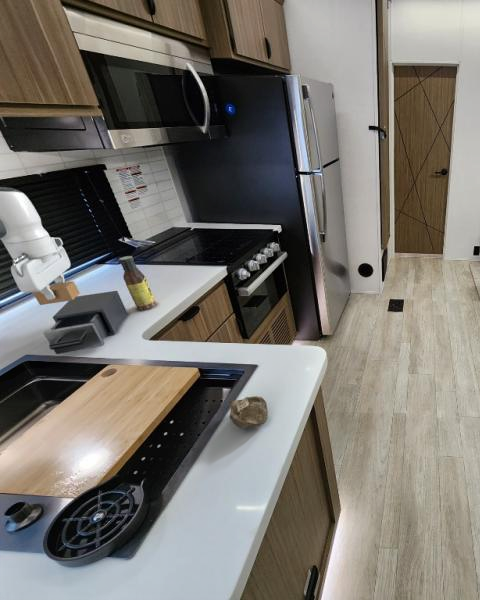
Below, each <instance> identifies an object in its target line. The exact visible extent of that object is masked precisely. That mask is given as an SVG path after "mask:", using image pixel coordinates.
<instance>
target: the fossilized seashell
mask: <svg viewBox="0 0 480 600" xmlns="http://www.w3.org/2000/svg"><path fill="white" fill-rule="evenodd" d="M229 406H230V410H229V411H230V412H229V419H230V420H231V422H232V423H233V424H234V425H235V426H236V427H239V428H240V429H241V428H243V429H251V428H255V427H260V426H262V425H264V424H265V423H266V422H267V420H268V414H269V410H268V407H267V406H268V403H267V401H266V400H265V398H263V397H262V396H258V395H257V396H255V395H253V396H245V397H244V398H242V399H237V400H230V401H229Z"/></svg>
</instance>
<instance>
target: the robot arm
mask: <svg viewBox="0 0 480 600" xmlns="http://www.w3.org/2000/svg"><path fill="white" fill-rule="evenodd" d="M0 241H1V242H2V244H3V245H4V247H5V249H6V250H7V252H8V253H9V255H10V257H11V259H12V265H11V267H10V272H11V275H12V277H13V279H14V281H15V284H16V286H17V288H18V289H19V291H20V292H22V293H24V294H33V292H41V293H42V294H44V295H45V297H46V299H48V300H51V299H54V298H56V297H57V295H56V293H55V291H53V292H52V291H51V290H50V289H49V288H50V286H49V285H50V284H52V282H53V281H54V284H58V283H65V281H66V280H65V276H64V273H65V272H66V271H67V270H69V269H70V268H71V260H70V257H69V255H68V253H67V251H66V249H65V248H64V247H63V245H64V243H63V240H62V239H61V237H51V236H50V234H49V232H48V231H47V230H46V229H45V228H44V227H43V224H42V219H41V217H40V215H39V212H38V211H37V209H36V208H35V206H34V204H33V203H32V201H31V200H30V199H29V197H28V196H27V195H26V194H25V193H24V192H22V191H20V190H19V189H17V188H13V187H7V186H0Z"/></svg>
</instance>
